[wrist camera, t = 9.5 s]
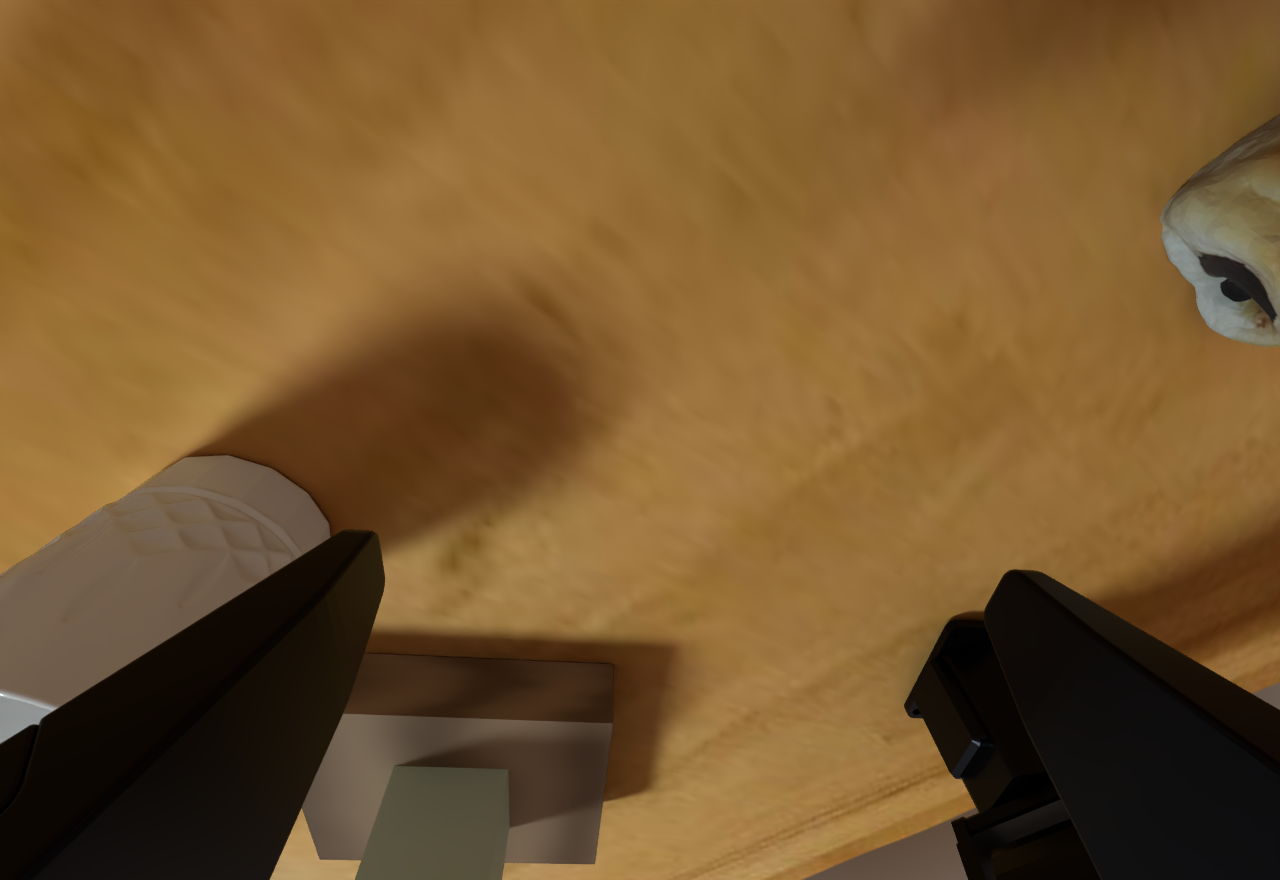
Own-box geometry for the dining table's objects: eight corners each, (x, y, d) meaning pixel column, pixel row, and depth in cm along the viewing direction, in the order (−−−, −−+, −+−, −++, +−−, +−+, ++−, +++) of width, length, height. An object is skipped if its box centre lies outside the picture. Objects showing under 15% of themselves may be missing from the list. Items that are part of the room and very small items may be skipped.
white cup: (366, 479, 22) (194, 730, 13) (333, 619, 25) (181, 889, 16) (131, 408, 20) (-250, 641, 11) (131, 568, 23) (-157, 841, 15)
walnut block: (613, 664, 27) (613, 723, 24) (596, 804, 33) (594, 864, 30) (303, 650, 26) (268, 711, 23) (344, 798, 32) (319, 859, 29)
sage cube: (508, 769, 26) (485, 902, 22) (509, 828, 28) (489, 957, 24) (393, 765, 25) (347, 900, 21) (405, 825, 28) (366, 957, 24)
